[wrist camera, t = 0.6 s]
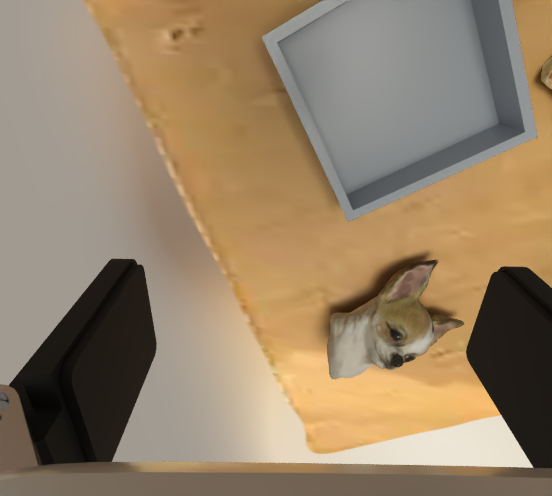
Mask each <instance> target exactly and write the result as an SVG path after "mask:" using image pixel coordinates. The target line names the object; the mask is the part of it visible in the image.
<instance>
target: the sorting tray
mask: <svg viewBox="0 0 552 496" xmlns="http://www.w3.org/2000/svg"><path fill="white" fill-rule="evenodd" d="M262 39H263V41H264V43H265V45H266V47H267V50H268V52H269V54H270V56H271V58H272V60H273V62H274V65H275V67H276V69H277V71H278V73H279V75H280V77H281V80H282V82H283V84H284V86H285V88H286V90H287V92H288V95H289V97H290V99H291V101H292V103H293V105H294V107H295V109H296V112H297V114H298V116H299V118H300V120H301V122H302V124H303V127H304V129H305V131H306V133H307V135H308V137H309V139H310V142H311V144H312V146H313V148H314V150H315V152H316V154H317V157H318V159H319V161H320V163H321V165H322V167H323V169H324V171H325V174H326V176H327V178H328V180H329V182H330V184H331V186H332V189H333V191H334V193H335V195H336V197H337V199H338V201H339V204H340V206H341V208H342V210H343V212H344V214H345V216H346V219H347V221H348V222H349V221H351V220H353V219H356V218H358V217H360V216H362V215H364V214H367V213H369V212H371V211H373V210H376V209H378V208H380V207H382V206H385V205H387V204H389V203H391V202H393V201H396V200H398V199H400V198H402V197H405V196H407V195H409V194H411V193H413V192H416V191H418V190H420V189H422V188H425V187H427V186H429V185H431V184H433V183H436V182H438V181H440V180H442V179H445V178H447V177H449V176H451V175H453V174H456V173H458V172H460V171H462V170H465V169H467V168H469V167H471V166H473V165H476V164H478V163H480V162H482V161H485V160H487V159H489V158H491V157H493V156H496V155H498V154H500V153H502V152H505V151H507V150H509V149H511V148H513V147H516V146H518V145H520V144H522V143H525V142H527V141H529V140H531V139H533V138H536V137H538V136H537V131H536V126H535V120H534V115H533V110H532V104H531V99H530V94H529V88H528V83H527V78H526V72H525V67H524V62H523V56H522V51H521V46H520V40H519V35H518V30H517V25H516V19H515V14H514V9H513V3H512V0H322V1H320V2H319V3H317V4H315V5H314V6H312V7H310V8H309V9H307V10H305V11H304V12H302V13H300V14H299V15H297V16H295V17H294V18H292V19H291V20H289V21H287V22H286V23H284V24H282V25H281V26H279V27H277V28H276V29H274V30H272V31H271V32H269V33H267V34H266V35H264V36H262Z"/></svg>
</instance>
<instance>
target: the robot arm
mask: <svg viewBox="0 0 552 496" xmlns="http://www.w3.org/2000/svg"><path fill="white" fill-rule="evenodd" d="M155 353H156V337H155V332H154V326H153V319H152V313H151V307H150V302H149V296H148V290H147V284H146V278H145V272H144V268H143V266H142V265H137V263H136V261H135V260H134V259H111V260H110V261H109V262H108V263H107V264H106V266H105V267H104V268H103V270H102V271H101V272H100V273H99V274H98V276H97V277H96V278H95V279H94V281H93V282H92V283H91V284H90V285H89V287H88V288H87V289H86V291H85V292H84V293H83V294H82V295H81V297H80V298H79V299H78V301H77V302H76V303H75V304H74V305H73V307H72V308H71V309H70V310H69V312H68V313H67V314H66V315H65V316H64V318H63V319H62V320H61V322H60V323H59V324H58V325H57V326H56V328H55V329H54V330H53V331H52V333H51V334H50V335H49V336H48V337H47V339H46V340H45V341H44V342H43V344H42V345H41V346H40V347H39V349H38V350H37V351H36V353H35V354H34V355H33V356H32V357H31V358H30V360H29V361H28V362H27V363H26V365H25V366H24V367H23V368H22V370H21V371H20V372H19V373H18V375H17V376H16V377H15V378H14V380H13V381H12V382H11V383H10V384H9V386H7V385H0V496H552V288H551V287H550V286H549V285H547V284H546V283H545V282H544V281H543V280H542V279H541V278H539V277H538V276H537V275H536V274H535V273H534V272H532V271H531V270H530V269H529V268H527V267H501V268H500V269H499V270H498V271H497V272H494V273H493V274H492V276H491V278H490V281H489V284H488V287H487V290H486V293H485V295H484V298H483V301H482V304H481V307H480V310H479V313H478V316H477V319H476V322H475V325H474V328H473V331H472V334H471V337H470V340H469V343H468V346H467V350H466V354H467V359H468V361H469V363H470V365H471V366H472V368H473V370H474V371H475V373H476V375H477V376H478V378H479V379H480V381H481V383H482V384H483V386H484V388H485V389H486V391H487V392H488V394H489V396H490V397H491V399H492V401H493V402H494V404H495V405H496V407H497V409H498V410H499V412H500V414H501V415H502V417H503V419H504V420H505V422H506V423H507V425H508V427H509V428H510V430H511V431H512V433H513V435H514V436H515V438H516V440H517V441H518V443H519V445H520V446H521V448H522V449H523V451H524V453H525V454H526V456H527V458H528V459H529V461H530V462H531V464H532V466H533V467H534V468H518V467H517V468H516V467H476V466H427V465H425V466H424V465H374V464H372V465H371V464H315V463H313V464H312V463H238V462H236V463H234V462H233V463H232V462H112V459H113V457H114V454H115V452H116V450H117V447H118V445H119V442H120V440H121V437H122V435H123V433H124V430H125V427H126V425H127V423H128V420H129V418H130V415H131V413H132V410H133V408H134V406H135V403H136V401H137V398H138V396H139V393H140V390H141V388H142V386H143V383H144V381H145V378H146V376H147V374H148V371H149V369H150V366H151V364H152V361H153V359H154V356H155Z"/></svg>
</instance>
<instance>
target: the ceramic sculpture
mask: <svg viewBox="0 0 552 496" xmlns="http://www.w3.org/2000/svg"><path fill="white" fill-rule="evenodd" d="M437 263H438V260H430V261H425V262H419V263H415V264H412V265H410V266H407V267H404V268H402V269H400V270H399V271H398V272H396V273H395V274H394V275H393V276H392V277H391V278H390V279H389V280H388V282H387V283H386V284H385V286H384V287H383V289H382V290H381V291H380V292H379V294H378V296H377V297H375V298H373V299H371V300H370V301H369V302H367V303H366V304H364V305H362V306H360V307H358V308H357V309H355V310H354V311H352V312H349V313H339V312H338V313H333V314H332V315H331V317H330V327H331V328H330V336H329V340H328V343H327V355H328V363H329V374H330V377H331V378H332V379H337V378H352V377H354V376H357V375H359V374H361V373H363V372H364V371H365V370H366V369H367V368H369V367H370V366H372V365H376V366H378V367H379V368H382V369H385V368H386V369H389V370H394V369H396V368H398V367H401V366H402V365H403V363H405V362H409V361H412V360H414V359H415V358H416V356H421V355H423V354H424V353H426V352H427V350H428V349H429V347H430V346H432V345H433V344H434V343H435V342H437V339H438V338H441V337H442V336H443V335H444V334H445V333H446V332H447V331H449V330H451V329H453V328H458V327H460V326H462V325H464V322H463V321H461V320H457V319H453V318H450V317H447V316H444V315H440V314H428V312H427V310H426V308H425V307H424V306H423V305H422V304H421V303H420V302H419V301H418V300H417V298H418V296H420V295H421V294H422V292H423V291H424V290H425V288H426V287H427V284H428V281H429V277H430V275H431V272H432V270H433V268H434V267H435V266H436V264H437Z"/></svg>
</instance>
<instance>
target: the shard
mask: <svg viewBox="0 0 552 496" xmlns="http://www.w3.org/2000/svg"><path fill="white" fill-rule="evenodd" d="M541 81H542V82H543V83H544V84H545V85H546V86H547V87H548V88H550V89H552V57H551V58H549V59H548V60H547V61H546V63H545V64H544V65H543V66H542V72H541Z"/></svg>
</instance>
